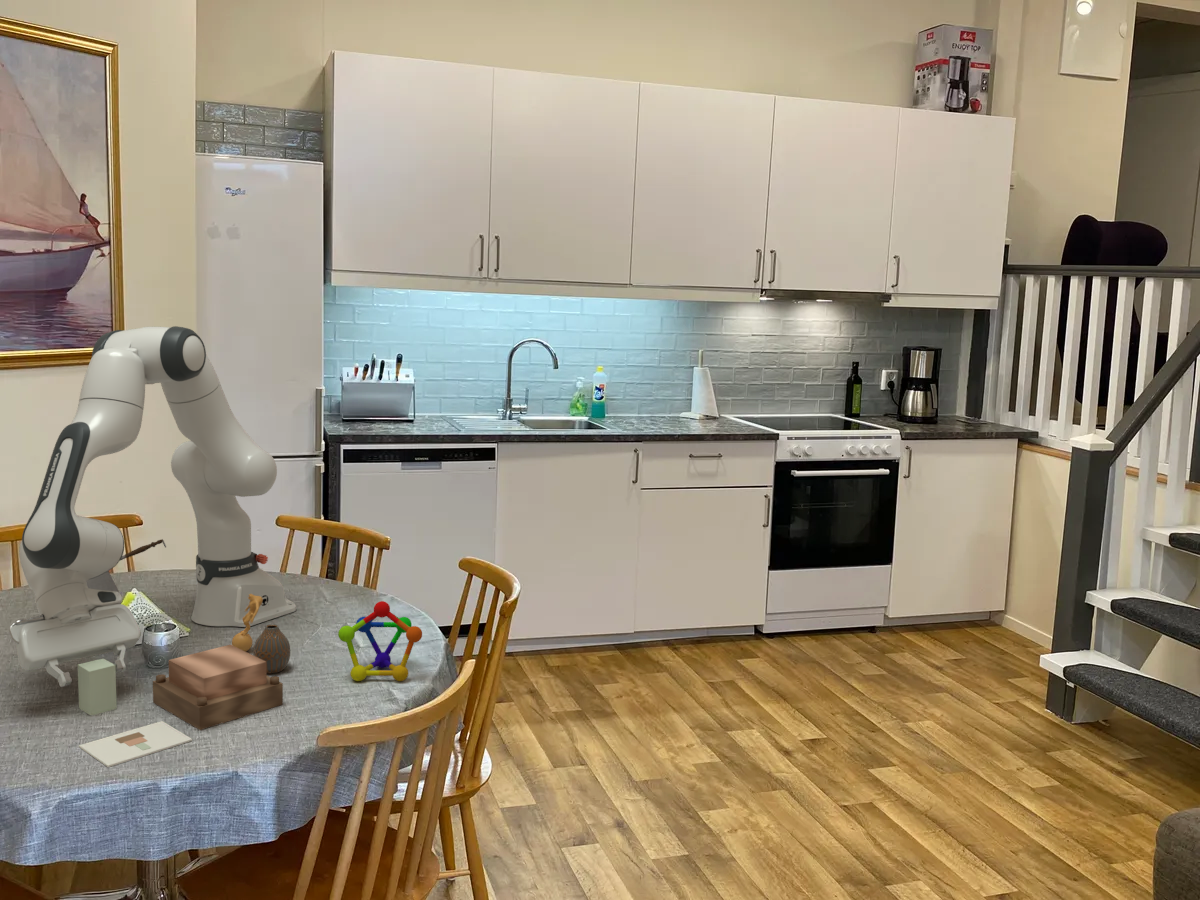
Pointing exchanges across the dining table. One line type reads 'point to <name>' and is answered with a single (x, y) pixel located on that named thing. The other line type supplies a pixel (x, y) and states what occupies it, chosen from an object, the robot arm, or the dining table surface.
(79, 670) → the upright grey-green brick
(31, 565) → the robot arm
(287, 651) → the vase
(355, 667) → the educational toy
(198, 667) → the stacked wooden pedestal
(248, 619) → the figurine
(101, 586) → the coffee pot
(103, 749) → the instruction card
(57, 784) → the dining table surface
